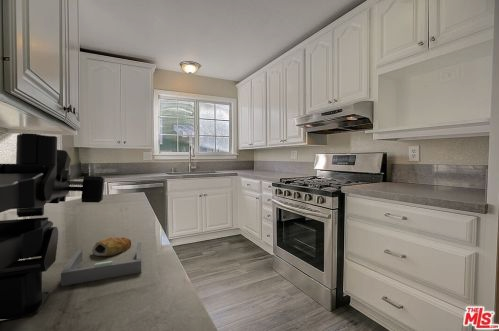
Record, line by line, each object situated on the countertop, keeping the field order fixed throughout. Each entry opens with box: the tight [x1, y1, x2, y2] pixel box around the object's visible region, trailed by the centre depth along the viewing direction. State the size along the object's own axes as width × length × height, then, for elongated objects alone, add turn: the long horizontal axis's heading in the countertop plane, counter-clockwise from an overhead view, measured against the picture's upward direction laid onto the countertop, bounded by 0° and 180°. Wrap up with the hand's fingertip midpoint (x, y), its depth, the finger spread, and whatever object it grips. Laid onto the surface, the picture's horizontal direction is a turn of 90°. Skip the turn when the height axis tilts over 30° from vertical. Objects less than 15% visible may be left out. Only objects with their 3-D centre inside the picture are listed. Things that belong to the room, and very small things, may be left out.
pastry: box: [91, 237, 132, 257], centre depth 64 cm, size 9×7×4 cm
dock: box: [60, 242, 142, 287], centre depth 54 cm, size 13×14×3 cm
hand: (66, 187), depth 61 cm, fingers open, 9 cm apart
